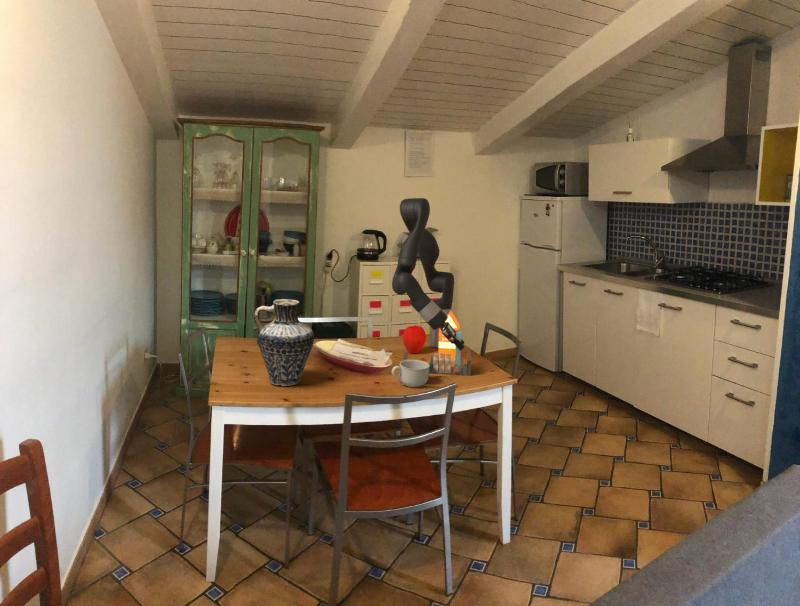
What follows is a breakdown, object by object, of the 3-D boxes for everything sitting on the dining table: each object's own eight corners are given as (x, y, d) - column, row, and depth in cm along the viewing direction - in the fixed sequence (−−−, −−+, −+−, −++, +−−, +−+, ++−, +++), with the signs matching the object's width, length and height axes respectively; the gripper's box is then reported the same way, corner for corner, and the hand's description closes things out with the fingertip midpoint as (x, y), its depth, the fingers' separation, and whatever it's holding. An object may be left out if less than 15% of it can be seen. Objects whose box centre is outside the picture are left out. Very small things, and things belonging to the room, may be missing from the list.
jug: (303, 372, 252) (303, 294, 246) (321, 387, 235) (322, 303, 229) (248, 379, 242) (247, 297, 237) (263, 395, 226) (262, 307, 220)
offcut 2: (438, 372, 254) (439, 359, 253) (439, 365, 263) (440, 353, 262) (444, 372, 253) (444, 360, 252) (444, 365, 263) (445, 353, 262)
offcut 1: (432, 372, 254) (433, 359, 253) (433, 365, 264) (434, 352, 263) (438, 372, 254) (438, 359, 253) (438, 365, 263) (439, 353, 263)
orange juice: (458, 357, 279) (460, 310, 276) (456, 363, 271) (459, 315, 267) (439, 356, 280) (441, 309, 277) (437, 362, 272) (439, 313, 268)
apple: (417, 357, 278) (418, 328, 276) (397, 353, 284) (398, 325, 281) (429, 352, 286) (430, 324, 284) (410, 348, 292) (411, 321, 290)
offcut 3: (444, 372, 253) (445, 360, 253) (445, 365, 263) (446, 353, 262) (450, 373, 253) (450, 360, 252) (450, 365, 263) (451, 353, 262)
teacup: (424, 380, 247) (425, 359, 246) (432, 389, 237) (433, 367, 236) (387, 381, 244) (388, 360, 243) (393, 390, 234) (394, 368, 233)
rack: (401, 374, 253) (401, 356, 252) (404, 364, 267) (404, 347, 265) (470, 378, 251) (471, 360, 250) (469, 367, 265) (470, 350, 263)
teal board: (454, 366, 255) (456, 333, 252) (454, 362, 261) (456, 329, 258) (459, 366, 255) (461, 333, 252) (459, 362, 261) (461, 330, 258)
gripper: (439, 312, 247) (470, 344, 248) (440, 304, 261) (469, 335, 263) (424, 325, 249) (455, 358, 250) (426, 317, 263) (455, 348, 264)
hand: (462, 346), depth 256 cm, fingers closed on teal board, 6 cm apart
